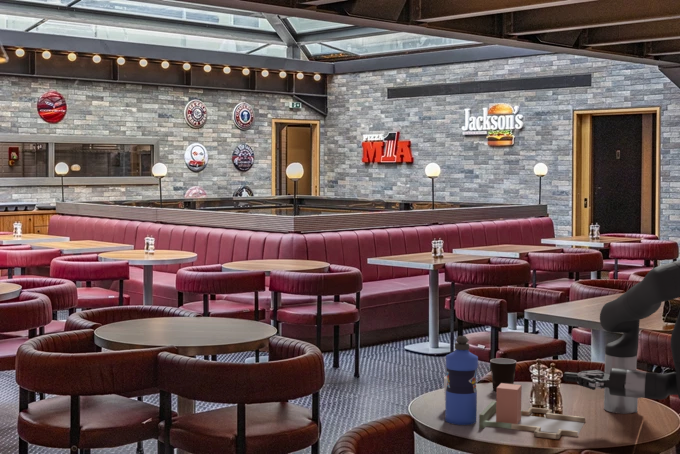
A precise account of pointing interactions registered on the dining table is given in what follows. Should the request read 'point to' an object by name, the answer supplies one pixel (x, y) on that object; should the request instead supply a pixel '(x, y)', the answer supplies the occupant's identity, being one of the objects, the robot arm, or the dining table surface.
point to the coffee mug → (502, 371)
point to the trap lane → (536, 422)
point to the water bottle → (461, 384)
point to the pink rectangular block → (508, 403)
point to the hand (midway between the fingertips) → (563, 376)
